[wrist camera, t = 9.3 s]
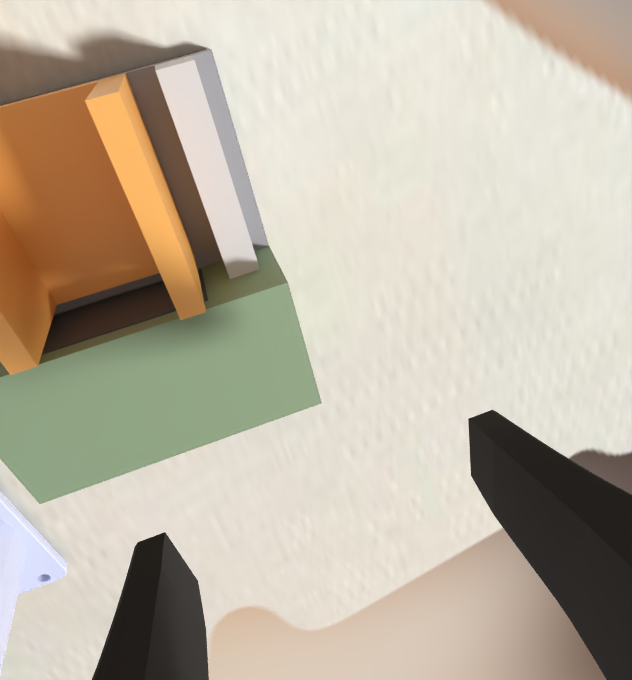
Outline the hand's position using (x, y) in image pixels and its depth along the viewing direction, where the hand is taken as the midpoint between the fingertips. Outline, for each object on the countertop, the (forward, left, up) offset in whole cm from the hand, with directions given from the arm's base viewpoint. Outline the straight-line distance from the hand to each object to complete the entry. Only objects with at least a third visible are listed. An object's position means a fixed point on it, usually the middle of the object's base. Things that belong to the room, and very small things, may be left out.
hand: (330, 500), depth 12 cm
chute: (-4, +6, -9) cm, 11 cm away
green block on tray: (-4, +2, -9) cm, 11 cm away
